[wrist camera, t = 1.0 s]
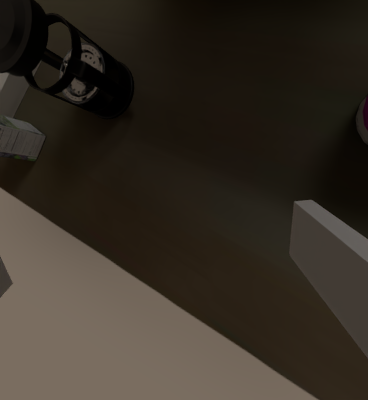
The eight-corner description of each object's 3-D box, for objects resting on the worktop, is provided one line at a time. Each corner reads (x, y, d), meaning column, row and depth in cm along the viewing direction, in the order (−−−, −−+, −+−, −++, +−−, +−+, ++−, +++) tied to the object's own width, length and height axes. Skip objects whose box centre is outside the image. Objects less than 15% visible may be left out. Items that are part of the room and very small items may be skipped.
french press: (79, 106, 43) (-122, 21, 21) (98, 53, 41) (-103, -98, 19) (128, 132, 39) (-56, 60, 18) (151, 75, 37) (-24, -82, 16)
